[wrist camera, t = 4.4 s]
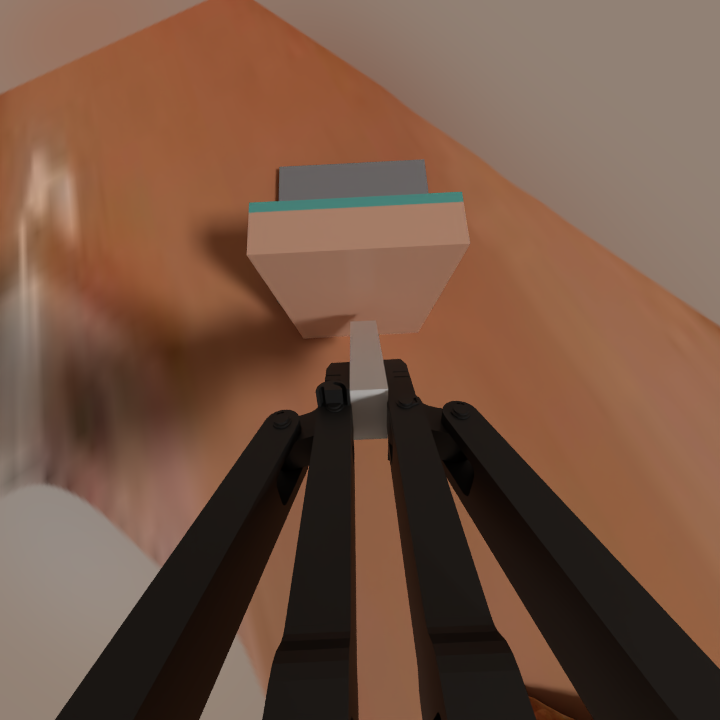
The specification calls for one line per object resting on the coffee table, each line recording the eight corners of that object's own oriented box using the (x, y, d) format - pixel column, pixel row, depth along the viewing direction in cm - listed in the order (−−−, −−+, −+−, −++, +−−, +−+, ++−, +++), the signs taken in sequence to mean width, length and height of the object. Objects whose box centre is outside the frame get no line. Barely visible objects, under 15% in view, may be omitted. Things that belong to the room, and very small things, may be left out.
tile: (303, 338, 22) (246, 255, 11) (303, 309, 22) (249, 202, 12) (417, 332, 22) (470, 243, 11) (414, 303, 22) (461, 191, 12)
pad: (278, 303, 23) (276, 300, 22) (281, 172, 26) (279, 167, 25) (439, 295, 23) (440, 292, 22) (422, 165, 26) (424, 159, 25)
